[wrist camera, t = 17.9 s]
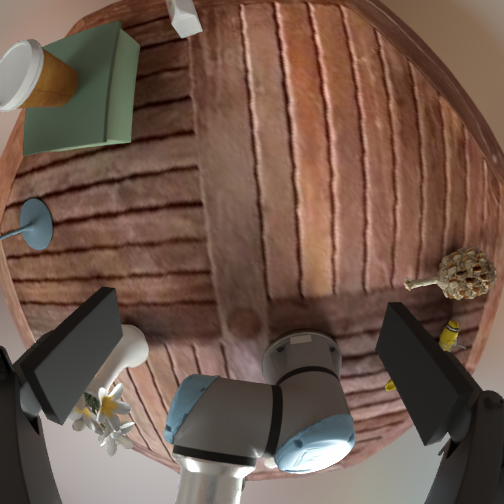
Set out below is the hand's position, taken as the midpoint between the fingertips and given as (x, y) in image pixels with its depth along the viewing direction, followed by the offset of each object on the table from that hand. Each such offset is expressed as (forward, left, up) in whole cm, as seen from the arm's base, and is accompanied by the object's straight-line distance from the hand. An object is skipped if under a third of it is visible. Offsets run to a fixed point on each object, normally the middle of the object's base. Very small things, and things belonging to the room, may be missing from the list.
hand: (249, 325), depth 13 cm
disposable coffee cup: (+20, +29, -23) cm, 42 cm away
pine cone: (-8, -35, -33) cm, 49 cm away
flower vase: (-26, +23, -33) cm, 48 cm away
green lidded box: (+20, +29, -33) cm, 48 cm away
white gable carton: (+33, +13, -33) cm, 48 cm away
